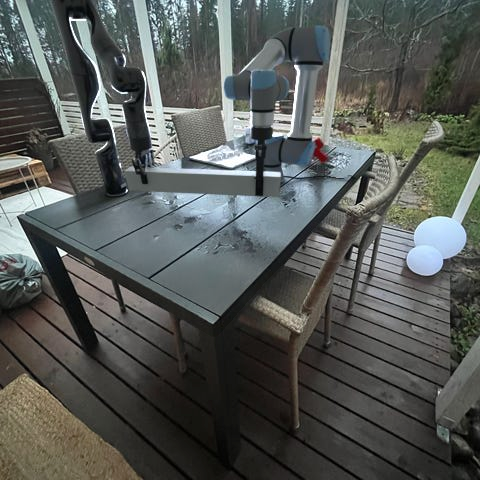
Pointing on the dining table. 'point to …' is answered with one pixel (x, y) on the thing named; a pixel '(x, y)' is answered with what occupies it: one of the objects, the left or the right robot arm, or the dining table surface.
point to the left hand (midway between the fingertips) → (148, 181)
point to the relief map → (224, 157)
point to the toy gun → (319, 151)
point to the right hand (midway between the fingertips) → (259, 192)
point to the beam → (203, 181)
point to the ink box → (248, 139)
